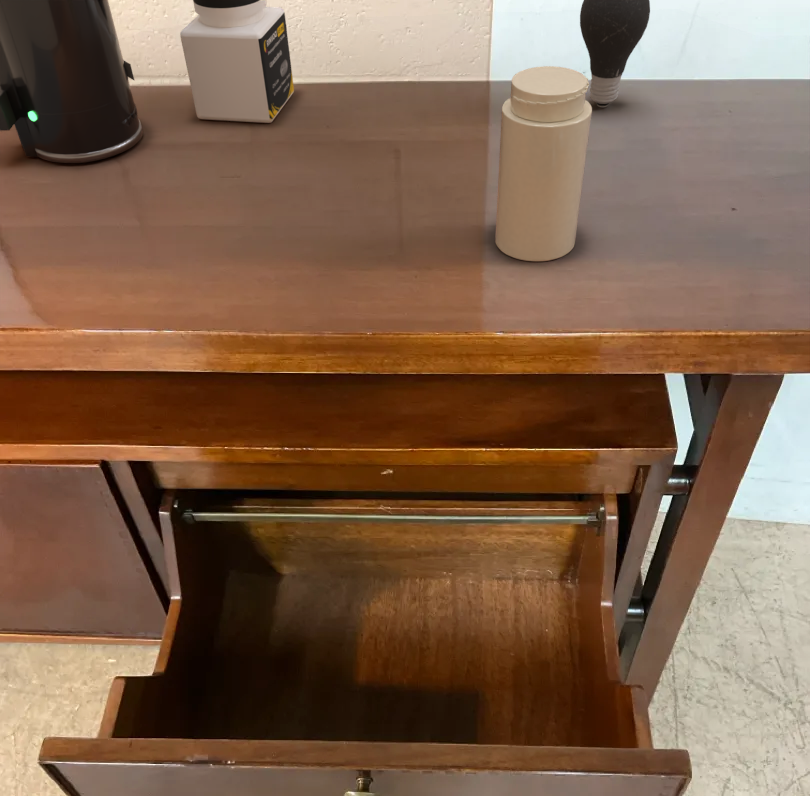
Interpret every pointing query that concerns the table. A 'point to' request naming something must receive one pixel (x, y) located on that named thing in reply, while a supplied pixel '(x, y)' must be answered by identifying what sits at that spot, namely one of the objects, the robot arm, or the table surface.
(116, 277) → the table surface
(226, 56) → the medicine bottle
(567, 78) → the jar
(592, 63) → the light bulb
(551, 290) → the table surface
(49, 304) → the table surface
